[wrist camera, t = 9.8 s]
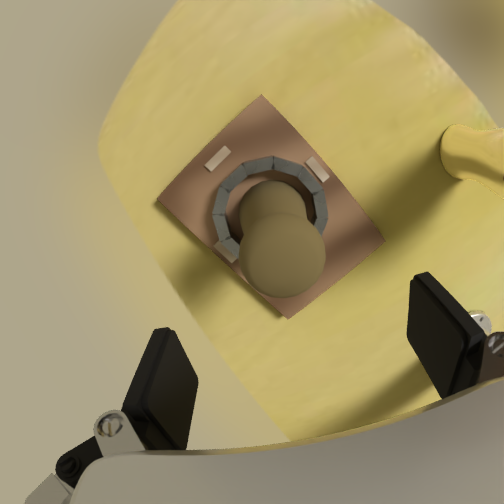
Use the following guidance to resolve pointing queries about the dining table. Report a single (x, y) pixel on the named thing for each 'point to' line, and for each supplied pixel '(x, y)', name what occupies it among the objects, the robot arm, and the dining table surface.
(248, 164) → the hub ring
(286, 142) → the board
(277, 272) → the cork
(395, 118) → the dining table surface
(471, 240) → the dining table surface
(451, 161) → the beer glass
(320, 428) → the dining table surface
